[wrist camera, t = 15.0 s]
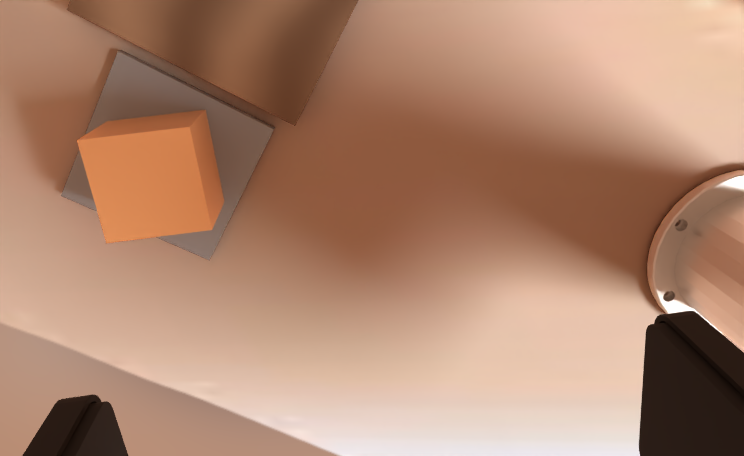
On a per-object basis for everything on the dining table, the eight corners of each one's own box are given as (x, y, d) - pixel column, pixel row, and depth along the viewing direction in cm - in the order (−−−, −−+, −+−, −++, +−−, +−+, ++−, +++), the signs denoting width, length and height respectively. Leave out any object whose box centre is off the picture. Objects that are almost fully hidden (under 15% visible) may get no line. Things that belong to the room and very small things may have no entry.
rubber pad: (274, 127, 39) (274, 129, 38) (211, 256, 42) (209, 260, 41) (121, 50, 37) (117, 51, 36) (64, 192, 39) (60, 195, 39)
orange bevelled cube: (205, 109, 38) (189, 126, 33) (224, 201, 40) (212, 230, 35) (106, 121, 37) (76, 140, 33) (131, 213, 40) (106, 243, 35)
